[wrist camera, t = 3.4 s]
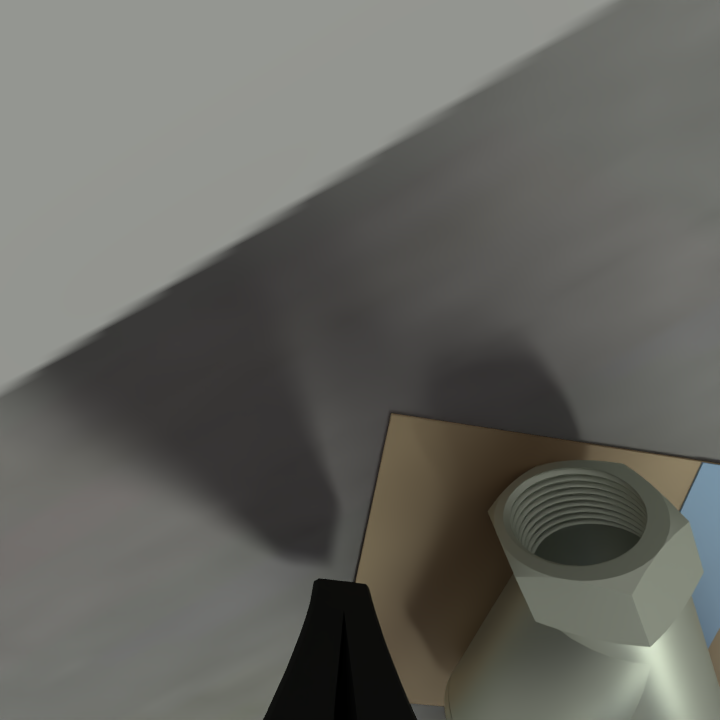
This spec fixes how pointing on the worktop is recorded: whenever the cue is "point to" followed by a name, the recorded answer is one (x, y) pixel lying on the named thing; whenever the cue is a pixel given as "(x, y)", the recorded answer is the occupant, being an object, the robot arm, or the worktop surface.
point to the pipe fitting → (589, 606)
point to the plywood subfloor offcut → (488, 535)
